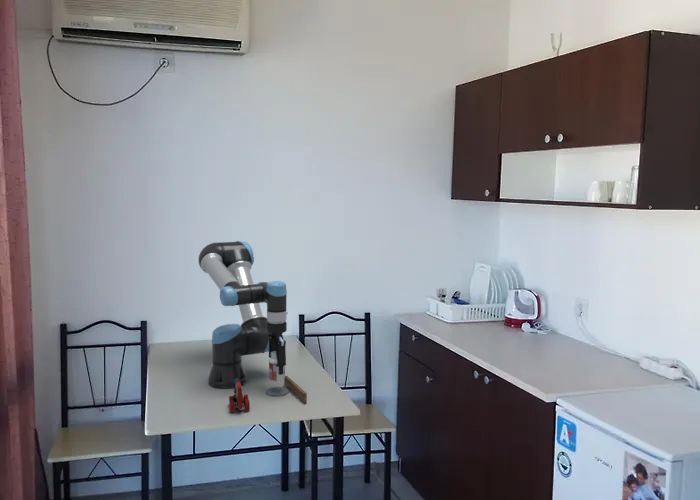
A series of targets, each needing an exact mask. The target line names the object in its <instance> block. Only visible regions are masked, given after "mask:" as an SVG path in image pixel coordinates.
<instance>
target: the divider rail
mask: <svg viewBox="0 0 700 500" xmlns="http://www.w3.org/2000/svg"><path fill="white" fill-rule="evenodd" d="M283 385H284V386H283V387H285V388H287V389H289V393H291V394H292V395H294V397H296V398H297V400H299V401H300V402H301V403H302V404H303V405H306V404H308V403H307V402H308V398H307V397H308V395H307V391H305V390H304V389H303V388H301V387H300V386H299V385H298V384H297V383H296V381H295V382H294V381H293V380H292V379H291V377H289V376H288V375H285V380H284V382H283Z"/></svg>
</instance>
